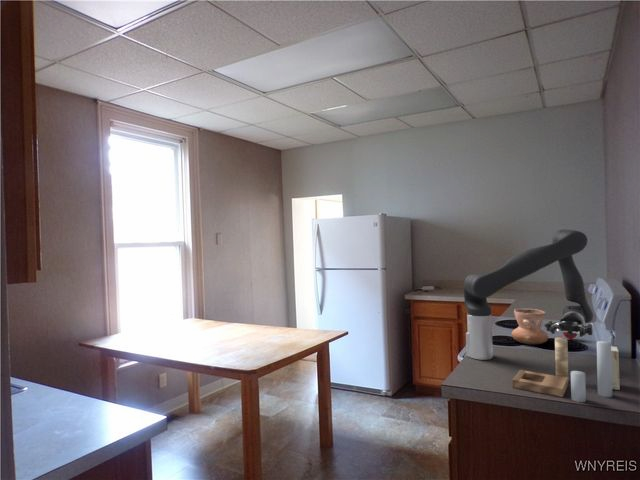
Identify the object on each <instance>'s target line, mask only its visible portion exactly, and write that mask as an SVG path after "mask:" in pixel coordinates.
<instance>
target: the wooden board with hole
mask: <svg viewBox="0 0 640 480" xmlns="http://www.w3.org/2000/svg"><path fill="white" fill-rule="evenodd" d="M568 384H569V377H568V378H566V377H560V376H556V375H553V374H547V373H542V372H541V373H540V372H536V371H535V372H534V371H529V370H524V369H520V370H518V372H517V373H516V374H515V376H514V377H513V378H512V388H514V389H518V390H519V389H520V390H525V391H529V392H533V393H534V392H535V393H540V394H545V395H549V396H550V395H551V396H556V397H560V398H563V397H564V395H565V393H566V390H567V388H568V386H569V385H568Z"/></svg>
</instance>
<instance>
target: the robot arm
mask: <svg viewBox="0 0 640 480" xmlns="http://www.w3.org/2000/svg"><path fill="white" fill-rule="evenodd" d="M587 245H588V237H587V235H586V234H585V233H584V232H582V231H579V230H577V229H576V230H574V229H573V230H572V229H559V230H557V231H555V233H554V234H553V236H552V243H550V244H546V245H543V246H536V247H532V248H529V249H527V250H523V251H521V252H520V253H517V254H516V255H513V256H512V257H510V258H509V259H508V260H507V261H506V262H505V263H504V264H503V265H502V266H501V267H500V268H498V269H495V270H494V271H491V272H489V273H488V272H487V273H486V274H480V273H471V274H469V275H467V276H466V278H465V279H464V282H463V299H464V307H465V309H466V320H467V321H466V323H467V332H465V349H466V357H469V358H471V359H476V360H481V361H483V360H485V361H487V360H491V359H492V358H494V355H493V354H494V350H493V316H492V314H493V313H492V307H491V306H490V304H489V303H488V299H487V298H488V297H489V298H490V297H491V296H492V295H494V294H495V293H497V292H499V291H500V290H502V289H504V288H505V287H507V286H508V285H511V284H513V283H515V282H517V281H520V280H521V279H524V278H525V277H528V276H530V275H532V274H535V273H536V272H538V271H540V270H541V269H544V268H546V267H548V266H550V265H552V264H554V263H556V262H558V265H559V269H560V271H561V276H562V281H563V288H564V289H563V290H564V296H565V299H566V301H568V302H571V303H575V304H578V305H566V306H565V307H563V310H562V317H561V319H560V320H559V322H554V321H552V320H550V321H548V322H547V323H546V325H545V328H546V332H550V333H551V335H554V334H556V333H563V332H565V333H567V334H569V335H576V334H577V335H579V337H580V338H581V337H584V336H586V335H587V334H588V335H589V336H593V325H592V324H591V322H592V321H593V319H594V313H593V310H592V309H591V307H590V305H589V303H588V300H587V297H586V290H585V283H584V280H583V277H582V275H581V273H580V271H579V270H578V267H577V266H576V264H575V261H574V258H573V255H576V254H578V253H580V252H582V251H583V250H584V249H585V248H586V246H587ZM585 324H587V325H585Z"/></svg>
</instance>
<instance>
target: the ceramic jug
mask: <svg viewBox="0 0 640 480" xmlns="http://www.w3.org/2000/svg"><path fill="white" fill-rule="evenodd" d="M513 314H514V317H515V320H516V322H517V324H518V326H517V327H516V328H515V329H513V330H512V331H511V337H512V338H513V339H514V340H515V341H516V342H519V343H520V344H525V345H541V344H545V343H546V342H547V341H548V339H549V335H548V333H546V331H544V330H543V329H542V328H541V326H542V324H543V321H544V319H545V317H546V312H545V311H544V310H541V309H535V308H515V309H513Z"/></svg>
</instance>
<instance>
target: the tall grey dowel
mask: <svg viewBox="0 0 640 480" xmlns="http://www.w3.org/2000/svg"><path fill="white" fill-rule="evenodd" d="M611 346H612V342H611V341H606V340H597V341H596V372H597V373H596V376H597V395H598V396H601V397H603V398H612V397H613V389H612V361H611Z"/></svg>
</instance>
